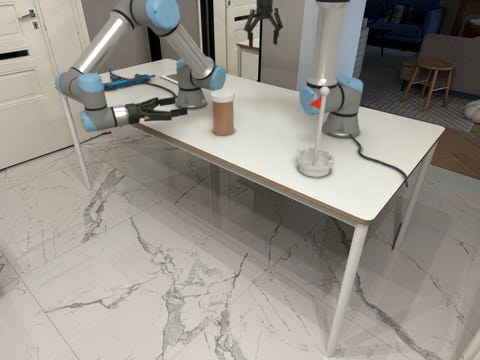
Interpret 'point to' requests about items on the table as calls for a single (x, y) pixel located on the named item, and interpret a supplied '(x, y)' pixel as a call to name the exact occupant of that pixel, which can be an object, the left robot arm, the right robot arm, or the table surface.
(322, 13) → the right robot arm
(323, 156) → the flag stand
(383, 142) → the table surface
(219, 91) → the lid
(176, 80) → the tablet
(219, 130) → the jar
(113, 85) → the submachine gun
